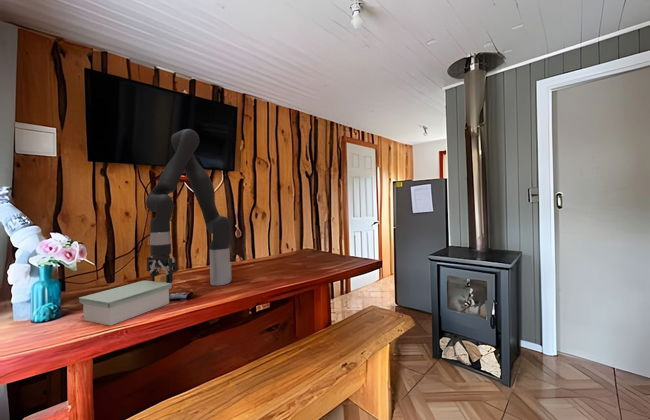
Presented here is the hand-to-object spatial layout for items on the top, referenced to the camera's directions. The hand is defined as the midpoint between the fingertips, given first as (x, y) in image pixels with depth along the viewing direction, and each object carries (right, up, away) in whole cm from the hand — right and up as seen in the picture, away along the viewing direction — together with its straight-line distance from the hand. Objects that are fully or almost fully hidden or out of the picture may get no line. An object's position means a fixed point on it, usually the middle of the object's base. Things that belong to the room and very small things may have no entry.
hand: (161, 282), depth 113 cm
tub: (-5, -7, -12) cm, 15 cm away
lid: (-4, -1, -11) cm, 11 cm away
